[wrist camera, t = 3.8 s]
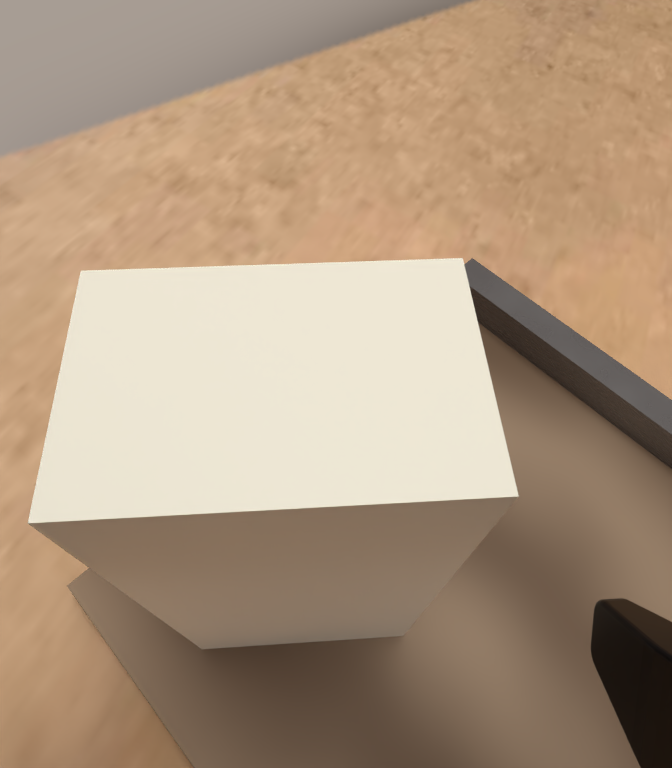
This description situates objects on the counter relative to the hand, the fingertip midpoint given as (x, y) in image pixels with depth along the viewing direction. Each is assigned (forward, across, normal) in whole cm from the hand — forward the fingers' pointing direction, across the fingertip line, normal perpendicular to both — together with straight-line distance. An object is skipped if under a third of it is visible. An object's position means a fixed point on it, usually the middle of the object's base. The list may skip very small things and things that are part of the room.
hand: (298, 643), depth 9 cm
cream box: (+9, 0, +5) cm, 10 cm away
